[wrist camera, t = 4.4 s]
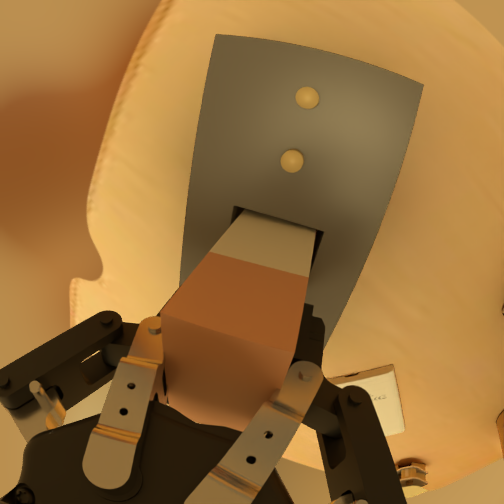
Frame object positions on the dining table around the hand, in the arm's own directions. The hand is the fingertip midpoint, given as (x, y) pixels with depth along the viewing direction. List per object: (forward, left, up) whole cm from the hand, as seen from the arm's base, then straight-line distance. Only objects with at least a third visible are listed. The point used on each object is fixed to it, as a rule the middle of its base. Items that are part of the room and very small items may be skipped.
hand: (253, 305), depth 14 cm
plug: (0, 0, -6) cm, 6 cm away
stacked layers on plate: (-30, +31, -9) cm, 44 cm away
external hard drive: (-14, +16, -9) cm, 23 cm away
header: (0, 0, -8) cm, 8 cm away
